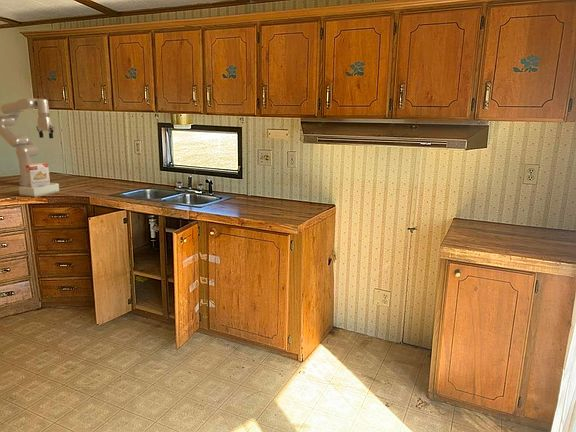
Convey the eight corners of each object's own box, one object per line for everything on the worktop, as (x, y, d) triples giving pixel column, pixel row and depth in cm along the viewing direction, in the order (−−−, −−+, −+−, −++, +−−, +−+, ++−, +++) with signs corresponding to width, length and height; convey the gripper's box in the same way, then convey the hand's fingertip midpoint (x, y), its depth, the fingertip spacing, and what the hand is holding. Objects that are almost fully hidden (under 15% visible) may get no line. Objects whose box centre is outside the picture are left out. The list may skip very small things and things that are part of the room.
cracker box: (32, 193, 312) (29, 165, 307) (27, 192, 315) (24, 164, 310) (51, 190, 324) (48, 163, 319) (46, 189, 327) (43, 162, 322)
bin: (19, 195, 312) (18, 186, 310) (45, 189, 332) (44, 182, 331) (34, 196, 308) (33, 188, 306) (59, 191, 328) (58, 183, 326)
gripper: (31, 115, 331) (33, 137, 336) (48, 115, 326) (51, 138, 331) (39, 115, 338) (41, 137, 343) (56, 115, 333) (59, 138, 337)
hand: (46, 137), depth 337 cm, fingers open, 9 cm apart
